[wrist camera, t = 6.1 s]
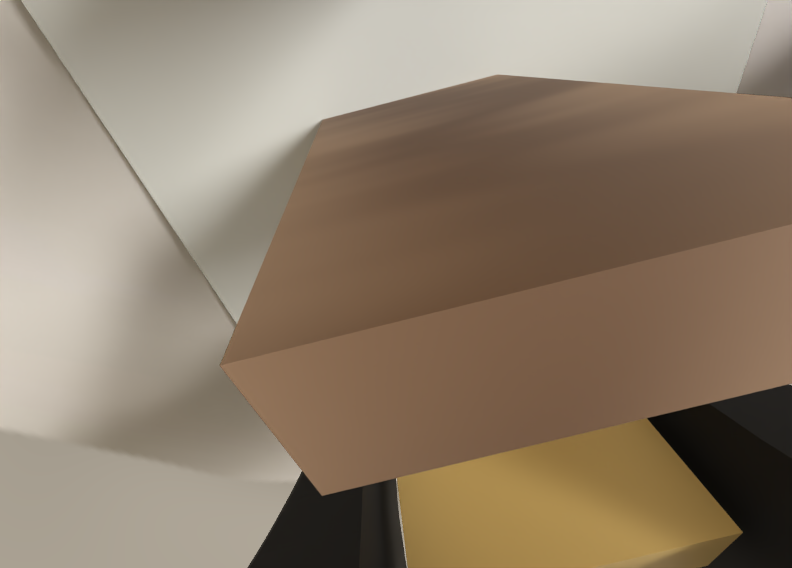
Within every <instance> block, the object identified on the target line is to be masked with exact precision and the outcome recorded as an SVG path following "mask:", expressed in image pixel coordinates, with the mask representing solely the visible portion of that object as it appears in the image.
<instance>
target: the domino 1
mask: <svg viewBox="0 0 792 568" xmlns="http://www.w3.org/2000/svg"><path fill="white" fill-rule="evenodd" d="M220 367H221V368H222V369H223V370H224V372H225V373H226V374H227V376H228V377H229V378H230V379H231V381H232V382H233V383H234V384H235V386H236V387H237V388H238V390H239V391H240V392H241V393H242V395H243V396H244V397H245V398H246V400H247V401H248V402H249V404H250V405H251V406H252V407H253V409H254V410H255V411H256V412H257V414H258V415H259V416H260V418H261V419H262V420H263V421H264V423H265V424H266V425H267V426H268V428H269V429H270V430H271V432H272V433H273V434H274V435H275V437H276V438H277V439H278V440H279V442H280V443H281V444H282V446H283V447H284V448H285V449H286V451H287V452H288V453H289V454H290V456H291V457H292V458H293V460H294V461H295V462H296V463H297V465H298V466H299V467H300V469H301V470H302V471H303V472H304V474H305V475H306V476H307V477H308V479H309V480H310V481H311V483H312V484H313V485H314V486H315V488H316V489H317V490H318V491H319V493H320V494H321V495H322V496H324V495H328V494H332V493H336V492H340V491H344V490H349V489H353V488H357V487H361V486H365V485H370V484H374V483H378V482H382V481H386V480H390V479H395V478H399V477H403V476H407V475H411V474H416V473H420V472H424V471H428V470H432V469H436V468H441V467H445V466H449V465H453V464H457V463H462V462H466V461H470V460H474V459H478V458H482V457H487V456H491V455H495V454H499V453H503V452H508V451H512V450H516V449H520V448H524V447H528V446H533V445H537V444H541V443H545V442H549V441H554V440H558V439H562V438H566V437H570V436H574V435H579V434H583V433H587V432H591V431H595V430H600V429H604V428H608V427H612V426H616V425H620V424H625V423H629V422H633V421H637V420H641V419H646V418H650V417H654V416H658V415H662V414H666V413H671V412H675V411H679V410H683V409H687V408H691V407H696V406H700V405H704V404H708V403H712V402H717V401H721V400H725V399H729V398H733V397H737V396H742V395H746V394H750V393H754V392H758V391H763V390H767V389H771V388H775V387H779V386H783V385H788V384H792V98H789V97H776V96H764V95H751V94H738V93H726V92H713V91H701V90H688V89H676V88H663V87H650V86H638V85H625V84H613V83H600V82H587V81H575V80H562V79H550V78H537V77H524V76H512V75H499V74H497V75H493V76H489V77H486V78H482V79H478V80H474V81H470V82H466V83H462V84H458V85H455V86H451V87H447V88H443V89H439V90H435V91H431V92H427V93H424V94H420V95H416V96H412V97H408V98H404V99H400V100H396V101H393V102H389V103H385V104H381V105H377V106H373V107H369V108H365V109H362V110H358V111H354V112H350V113H346V114H342V115H338V116H335V117H331V118H327V119H323V120H322V122H321V124H320V126H319V129H318V131H317V134H316V136H315V138H314V141H313V143H312V146H311V148H310V150H309V153H308V155H307V158H306V160H305V162H304V165H303V167H302V170H301V172H300V174H299V177H298V179H297V182H296V184H295V186H294V189H293V191H292V194H291V196H290V198H289V201H288V203H287V206H286V208H285V210H284V213H283V215H282V218H281V220H280V222H279V225H278V227H277V230H276V232H275V234H274V237H273V239H272V241H271V244H270V246H269V249H268V251H267V253H266V256H265V258H264V261H263V263H262V265H261V268H260V270H259V273H258V275H257V277H256V280H255V282H254V285H253V287H252V289H251V292H250V294H249V297H248V299H247V301H246V304H245V306H244V309H243V311H242V313H241V316H240V318H239V321H238V323H237V325H236V328H235V330H234V333H233V335H232V337H231V340H230V342H229V345H228V347H227V349H226V352H225V354H224V357H223V359H222V361H221V364H220Z"/></svg>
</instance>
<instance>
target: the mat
mask: <svg viewBox="0 0 792 568" xmlns="http://www.w3.org/2000/svg"><path fill="white" fill-rule="evenodd" d="M21 1H22V3H23V4H24V6H25V7H26V9H27V10H28V12H29V13H30V15H31V16H32V18H33V19H34V21H35V22H36V24H37V25H38V27H39V28H40V30H41V31H42V33H43V34H44V36H45V37H46V39H47V40H48V42H49V43H50V45H51V46H52V48H53V49H54V51H55V52H56V54H57V55H58V57H59V58H60V60H61V61H62V63H63V64H64V66H65V67H66V69H67V70H68V72H69V73H70V75H71V76H72V78H73V79H74V81H75V82H76V84H77V85H78V87H79V88H80V90H81V91H82V93H83V94H84V96H85V97H86V99H87V100H88V102H89V103H90V105H91V106H92V108H93V109H94V111H95V112H96V114H97V115H98V117H99V118H100V120H101V121H102V123H103V124H104V126H105V127H106V129H107V130H108V132H109V133H110V135H111V136H112V138H113V139H114V141H115V142H116V144H117V145H118V147H119V148H120V150H121V151H122V153H123V154H124V156H125V157H126V159H127V160H128V162H129V163H130V165H131V166H132V168H133V169H134V171H135V172H136V174H137V175H138V177H139V178H140V180H141V181H142V183H143V184H144V186H145V187H146V189H147V190H148V192H149V193H150V195H151V196H152V198H153V199H154V201H155V202H156V204H157V205H158V207H159V208H160V210H161V211H162V213H163V214H164V216H165V217H166V219H167V220H168V222H169V223H170V225H171V226H172V228H173V229H174V231H175V232H176V234H177V235H178V237H179V238H180V240H181V241H182V243H183V244H184V246H185V247H186V249H187V250H188V252H189V253H190V255H191V256H192V258H193V259H194V261H195V262H196V264H197V265H198V267H199V268H200V270H201V271H202V273H203V274H204V276H205V277H206V279H207V280H208V282H209V283H210V285H211V286H212V288H213V289H214V291H215V292H216V294H217V295H218V297H219V298H220V300H221V301H222V303H223V304H224V306H225V307H226V309H227V310H228V312H229V313H230V315H231V316H232V318H233V319H234V321H235V322H236V324H237V323H238V321H239V318H240V316H241V313H242V311H243V309H244V306H245V304H246V301H247V299H248V297H249V294H250V292H251V289H252V287H253V285H254V282H255V280H256V277H257V275H258V273H259V270H260V268H261V265H262V263H263V261H264V258H265V256H266V253H267V251H268V249H269V246H270V244H271V241H272V239H273V237H274V234H275V232H276V230H277V227H278V225H279V222H280V220H281V218H282V215H283V213H284V210H285V208H286V206H287V203H288V201H289V198H290V196H291V194H292V191H293V189H294V186H295V184H296V182H297V179H298V177H299V174H300V172H301V170H302V167H303V165H304V162H305V160H306V158H307V155H308V153H309V150H310V148H311V146H312V143H313V141H314V138H315V136H316V134H317V131H318V129H319V126H320V124H321V122H322V120H323V119H327V118H331V117H335V116H338V115H342V114H346V113H350V112H354V111H358V110H362V109H365V108H369V107H373V106H377V105H381V104H385V103H389V102H393V101H396V100H400V99H404V98H408V97H412V96H416V95H420V94H424V93H427V92H431V91H435V90H439V89H443V88H447V87H451V86H455V85H458V84H462V83H466V82H470V81H474V80H478V79H482V78H486V77H489V76H493V75H497V74H499V75H512V76H524V77H537V78H550V79H562V80H575V81H587V82H600V83H613V84H625V85H638V86H650V87H663V88H676V89H688V90H701V91H713V92H726V93H737V90H738V87H739V84H740V81H741V78H742V76H743V73H744V70H745V67H746V64H747V61H748V58H749V55H750V52H751V49H752V46H753V43H754V40H755V37H756V34H757V31H758V29H759V26H760V23H761V20H762V17H763V14H764V11H765V8H766V5H767V2H768V0H21Z"/></svg>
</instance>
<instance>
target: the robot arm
mask: <svg viewBox="0 0 792 568" xmlns="http://www.w3.org/2000/svg"><path fill="white" fill-rule="evenodd" d="M647 419H648V420H649V422H650V423H651V424H652V425H653V426H654V427H655V429H656V430H657V431H658V432H659V433H660V435H661V436H662V437H663V438H664V439H665V440H666V442H667V443H668V444H669V445H670V446H671V448H672V449H673V450H674V451H675V452H676V454H677V455H678V456H679V457H680V458H681V459H682V461H683V462H684V463H685V464H686V465H687V467H688V468H689V469H690V470H691V471H692V473H693V474H694V475H695V476H696V477H697V478H698V480H699V481H700V482H701V483H702V484H703V486H704V487H705V488H706V489H707V490H708V491H709V493H710V494H711V495H712V496H713V497H714V499H715V500H716V501H717V502H718V503H719V505H720V506H721V507H722V508H723V509H724V510H725V512H726V513H727V514H728V515H729V516H730V518H731V519H732V520H733V521H734V522H735V524H736V525H737V526H738V527H739V528H740V529H741V531H742V532H743V533H742V534H741V535H740V536H739V537H738V538H737V539H736V540H735V541H733V542H732V543H731V544H730V545H729V546H728V547H727V548H726V549H725V550H724V551H723V552H722V553H721V554H720V555H718V556H717V557H716V558H715V559H714V560H713V561H712V562H711V563H710V564H709V565H708V566H704V567H700V568H792V386H791V385H789V384H788V385H783V386H779V387H775V388H771V389H767V390H763V391H758V392H754V393H750V394H746V395H742V396H737V397H733V398H729V399H725V400H721V401H717V402H712V403H708V404H704V405H700V406H696V407H691V408H687V409H683V410H679V411H675V412H671V413H666V414H662V415H658V416H654V417H650V418H647ZM404 555H405V554H404V547H403V540H402V534H401V527H400V520H399V511H398V501H397V488H396V478H395V479H390V480H386V481H382V482H378V483H374V484H370V485H365V486H361V487H357V488H353V489H349V490H344V491H340V492H336V493H332V494H328V495H324V496H322V495H321V494H320V493H319V491H318V490H317V489H316V488H315V486H314V485H313V484H312V483H311V481H310V480H309V479H308V477H307V476H306V475H305V474H304V472H303V471H302V472H301V474H300V476H299V478H298V480H297V482H296V484H295V486H294V488H293V490H292V492H291V494H290V496H289V498H288V499H287V501H286V504H285V505H284V507H283V509H282V511H281V512H280V514H279V516H278V518H277V520H276V521H275V523H274V525H273V527H272V528H271V530H270V532H269V533H268V535H267V537H266V539H265V540H264V542H263V544H262V545H261V547H260V549H259V550H258V552H257V554H256V555H255V557H254V559H253V560H252V561H251V563H250V565H249V566H248V568H406V561H405V556H404Z"/></svg>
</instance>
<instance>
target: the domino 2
mask: <svg viewBox="0 0 792 568" xmlns="http://www.w3.org/2000/svg"><path fill="white" fill-rule="evenodd" d="M397 483H398V491H399V498H400V506H401V515H402V524H403V532H404V540H405V549H406V557H407V565H408V568H700V567H704V566H708V565H709V564H710V563H711V562H712V561H713V560H714V559H715V558H716V557H717V556H718V555H720V554H721V553H722V552H723V551H724V550H725V549H726V548H727V547H728V546H729V545H730V544H731V543H732V542H733V541H735V540H736V539H737V538H738V537H739V536H740V535H741V534H742V533H743V532H742V531H741V529H740V528H739V527H738V526H737V525H736V524H735V522H734V521H733V520H732V519H731V518H730V516H729V515H728V514H727V513H726V512H725V510H724V509H723V508H722V507H721V506H720V505H719V503H718V502H717V501H716V500H715V499H714V497H713V496H712V495H711V494H710V493H709V491H708V490H707V489H706V488H705V487H704V486H703V484H702V483H701V482H700V481H699V480H698V478H697V477H696V476H695V475H694V474H693V473H692V471H691V470H690V469H689V468H688V467H687V465H686V464H685V463H684V462H683V461H682V459H681V458H680V457H679V456H678V455H677V454H676V452H675V451H674V450H673V449H672V448H671V446H670V445H669V444H668V443H667V442H666V440H665V439H664V438H663V437H662V436H661V435H660V433H659V432H658V431H657V430H656V429H655V427H654V426H653V425H652V424H651V423H650V422H649V420H648V419H647V418H646V419H641V420H637V421H633V422H629V423H625V424H620V425H616V426H612V427H608V428H604V429H600V430H595V431H591V432H587V433H583V434H579V435H574V436H570V437H566V438H562V439H558V440H554V441H549V442H545V443H541V444H537V445H533V446H528V447H524V448H520V449H516V450H512V451H508V452H503V453H499V454H495V455H491V456H487V457H482V458H478V459H474V460H470V461H466V462H462V463H457V464H453V465H449V466H445V467H441V468H436V469H432V470H428V471H424V472H420V473H416V474H411V475H407V476H403V477H399V478H397Z"/></svg>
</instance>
